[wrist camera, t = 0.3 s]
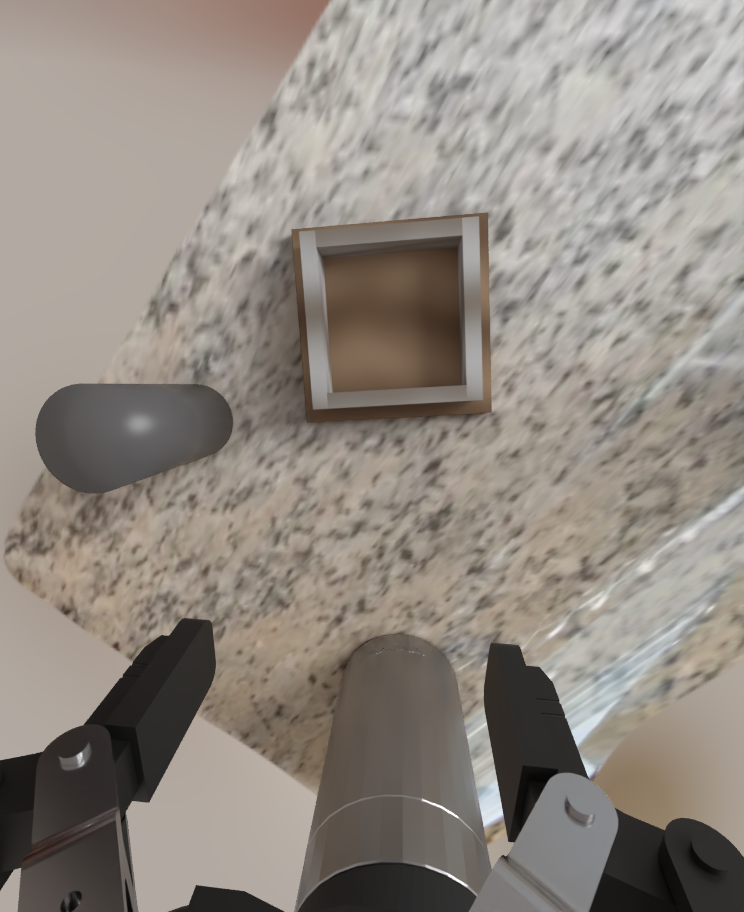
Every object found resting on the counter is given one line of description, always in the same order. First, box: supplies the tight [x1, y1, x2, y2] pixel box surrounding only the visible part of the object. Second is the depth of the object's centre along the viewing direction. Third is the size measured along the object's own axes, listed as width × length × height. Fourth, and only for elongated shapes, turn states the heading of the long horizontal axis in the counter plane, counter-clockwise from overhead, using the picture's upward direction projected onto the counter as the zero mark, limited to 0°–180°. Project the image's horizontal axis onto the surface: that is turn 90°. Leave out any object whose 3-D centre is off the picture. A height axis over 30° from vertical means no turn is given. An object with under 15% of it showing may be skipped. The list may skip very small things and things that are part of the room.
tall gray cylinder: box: [36, 384, 233, 493], centre depth 28 cm, size 5×5×12 cm
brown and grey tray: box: [292, 213, 491, 422], centre depth 30 cm, size 13×13×4 cm
